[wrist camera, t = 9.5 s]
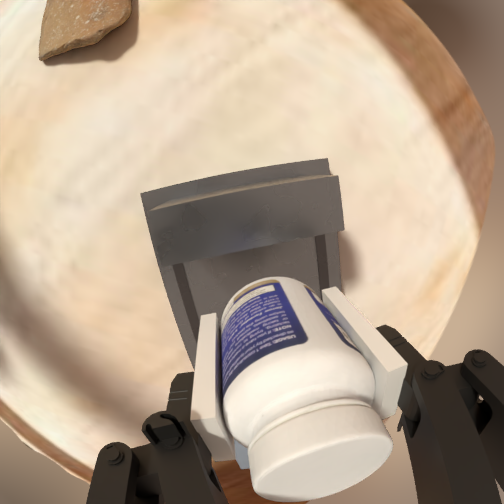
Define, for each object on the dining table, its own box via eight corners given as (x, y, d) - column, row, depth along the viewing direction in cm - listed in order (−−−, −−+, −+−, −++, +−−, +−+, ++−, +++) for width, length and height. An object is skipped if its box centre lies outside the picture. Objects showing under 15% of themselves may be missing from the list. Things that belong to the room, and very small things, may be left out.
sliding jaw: (236, 426, 25) (241, 469, 20) (225, 398, 24) (229, 445, 18) (384, 384, 26) (408, 417, 21) (389, 353, 25) (418, 387, 19)
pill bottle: (215, 357, 14) (215, 511, 5) (229, 267, 13) (240, 426, 4) (308, 364, 15) (364, 494, 6) (334, 281, 13) (446, 400, 5)
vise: (216, 412, 27) (218, 465, 20) (145, 192, 20) (109, 202, 13) (336, 385, 27) (361, 431, 20) (320, 159, 21) (367, 154, 13)
